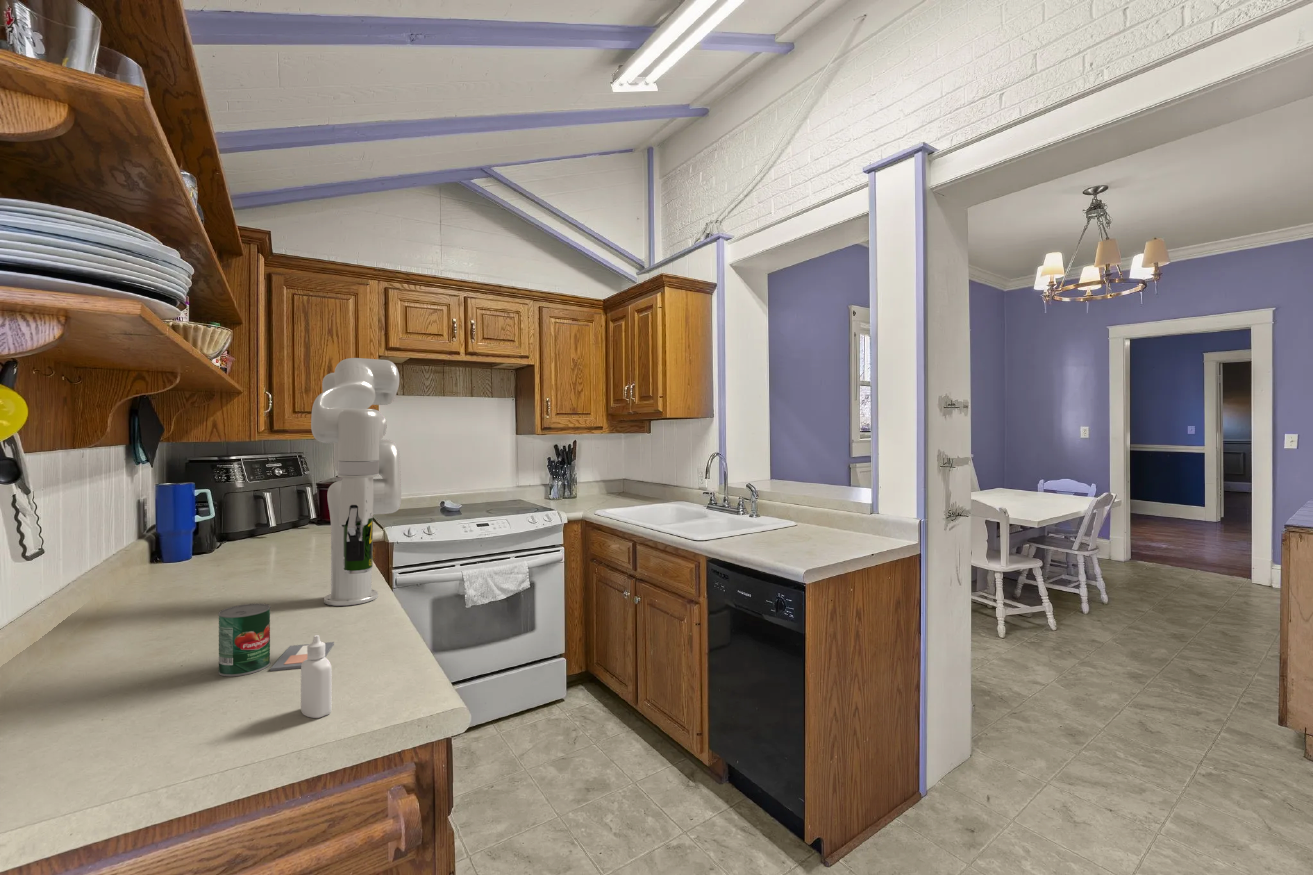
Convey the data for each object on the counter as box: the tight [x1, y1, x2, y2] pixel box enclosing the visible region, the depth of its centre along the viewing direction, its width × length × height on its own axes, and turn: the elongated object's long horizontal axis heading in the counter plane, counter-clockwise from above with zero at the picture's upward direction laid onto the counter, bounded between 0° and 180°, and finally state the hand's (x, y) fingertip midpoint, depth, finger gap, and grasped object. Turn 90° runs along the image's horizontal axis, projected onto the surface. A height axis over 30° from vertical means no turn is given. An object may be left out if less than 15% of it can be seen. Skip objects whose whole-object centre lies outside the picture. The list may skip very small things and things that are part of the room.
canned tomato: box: [218, 602, 271, 678], centre depth 108 cm, size 8×8×11 cm
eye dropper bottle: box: [300, 634, 333, 719], centre depth 92 cm, size 4×6×12 cm
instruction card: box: [270, 641, 335, 672], centre depth 114 cm, size 12×8×1 cm, turn 17°
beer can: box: [343, 512, 374, 574], centre depth 120 cm, size 5×5×12 cm
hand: (358, 556), depth 120 cm, fingers closed on beer can, 5 cm apart
